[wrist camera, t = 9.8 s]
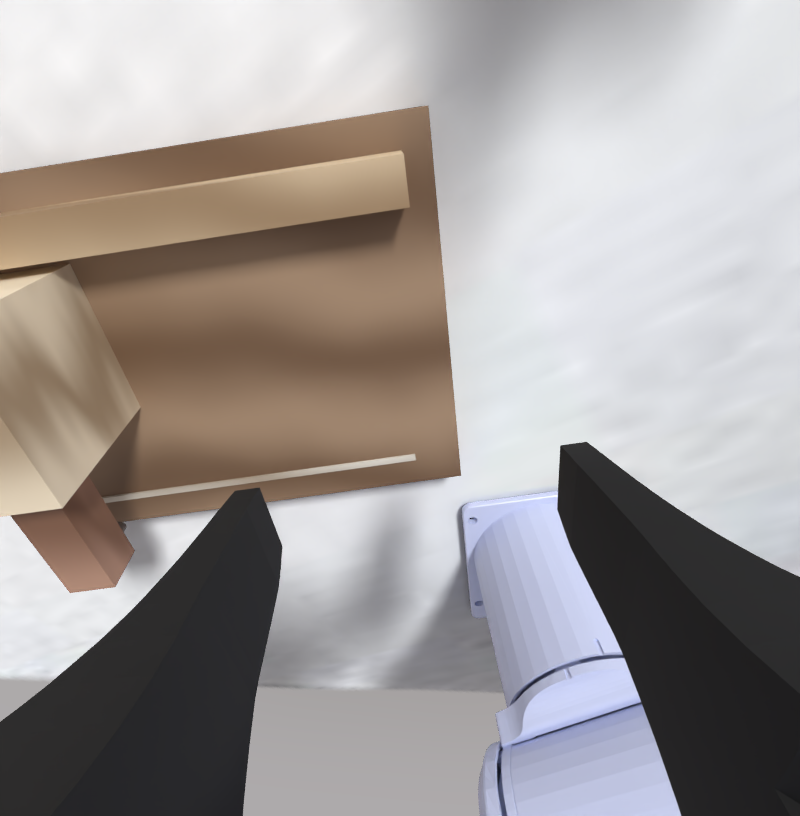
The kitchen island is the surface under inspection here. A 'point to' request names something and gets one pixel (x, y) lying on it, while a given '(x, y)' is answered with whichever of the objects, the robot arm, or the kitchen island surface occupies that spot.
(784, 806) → the robot arm
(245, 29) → the kitchen island surface
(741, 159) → the kitchen island surface
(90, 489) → the mallet
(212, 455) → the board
